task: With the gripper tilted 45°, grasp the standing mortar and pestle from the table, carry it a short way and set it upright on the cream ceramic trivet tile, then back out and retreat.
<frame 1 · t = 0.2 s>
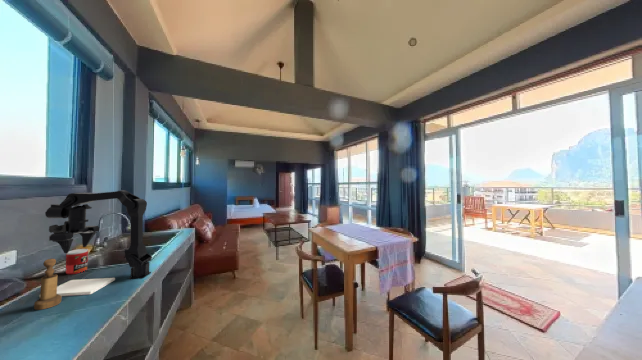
hand: (75, 249, 101), 15 cm above the table, tool pointing down, fingers open, 9 cm apart
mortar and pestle: (48, 305, 81), on the table
canned food: (76, 271, 110), on the table
trivet tile: (80, 288, 94), on the table
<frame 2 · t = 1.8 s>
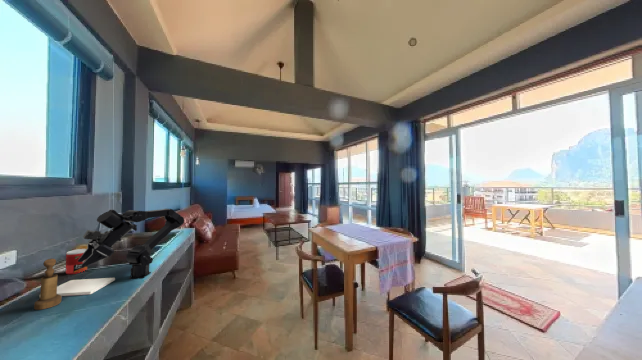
hand: (80, 264, 88), 13 cm above the table, tool tilted 45°, fingers open, 9 cm apart
nothing on the table moved.
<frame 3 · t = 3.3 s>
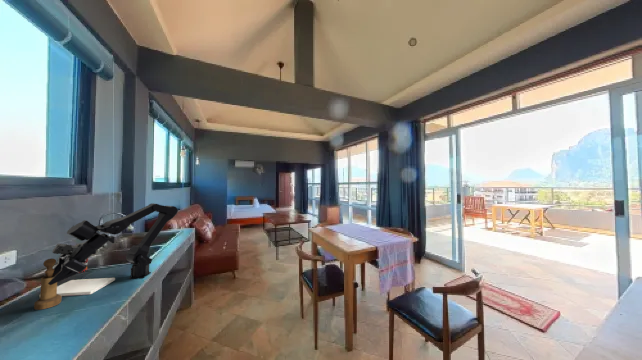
hand: (48, 280, 81), 9 cm above the table, tool tilted 45°, fingers open, 9 cm apart
nothing on the table moved.
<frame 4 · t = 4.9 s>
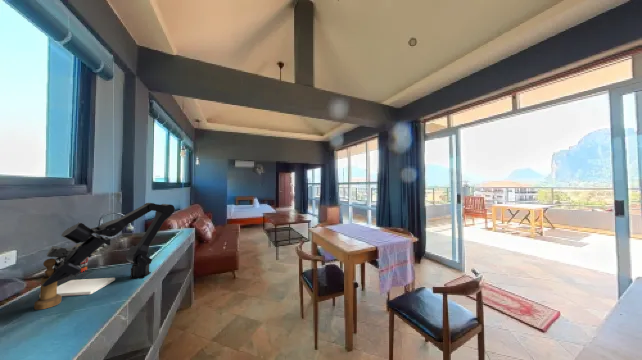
hand: (43, 284, 80), 9 cm above the table, tool tilted 45°, fingers closed on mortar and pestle, 4 cm apart
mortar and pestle: (48, 305, 81), on the table, touching gripper
everything else where it was.
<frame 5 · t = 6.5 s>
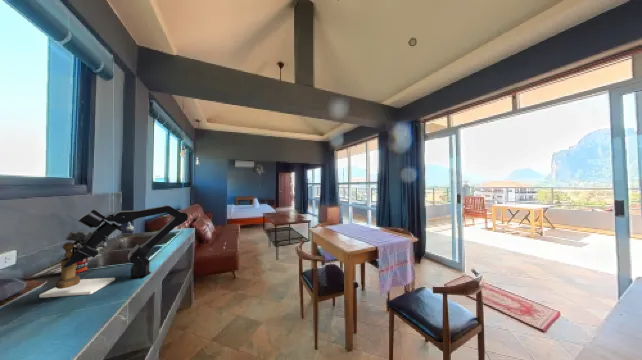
hand: (63, 265, 87), 13 cm above the table, tool tilted 45°, fingers closed on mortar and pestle, 4 cm apart
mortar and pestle: (68, 285, 88), point 4 cm above the table, touching gripper
everything else where it was.
when the fingers open (11 cm above the table, at t = 8.3 s): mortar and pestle drops 1 cm, resting on trivet tile.
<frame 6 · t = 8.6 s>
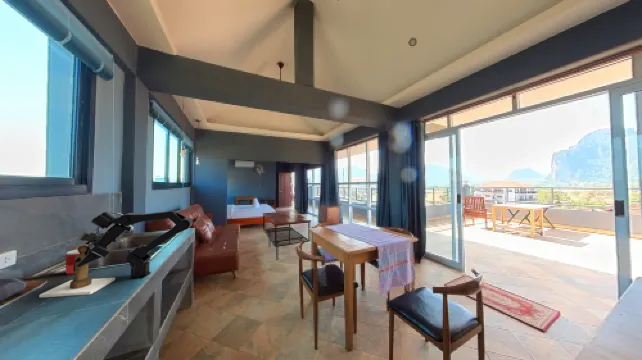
hand: (76, 264, 93), 11 cm above the table, tool tilted 45°, fingers open, 7 cm apart
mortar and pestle: (81, 285, 94), point 1 cm above the table, touching trivet tile
everything else where it was.
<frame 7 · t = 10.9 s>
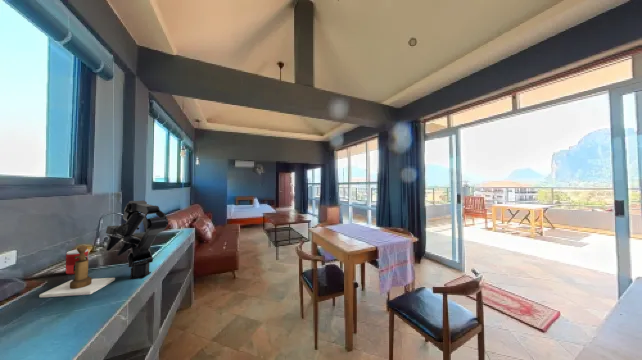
hand: (112, 253, 104), 13 cm above the table, tool tilted 30°, fingers open, 9 cm apart
nothing on the table moved.
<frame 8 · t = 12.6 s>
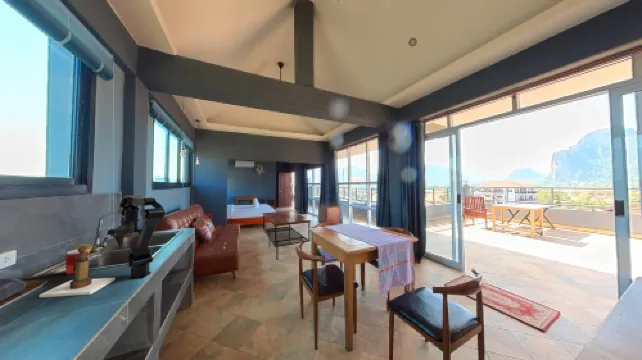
hand: (130, 246, 113), 13 cm above the table, tool pointing down, fingers open, 9 cm apart
nothing on the table moved.
at the end: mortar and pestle inside the target area on the trivet tile (0.1 cm from its centre), point 1.0 cm above the trivet tile's base; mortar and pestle tilted 0°; the gripper is holding nothing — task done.
